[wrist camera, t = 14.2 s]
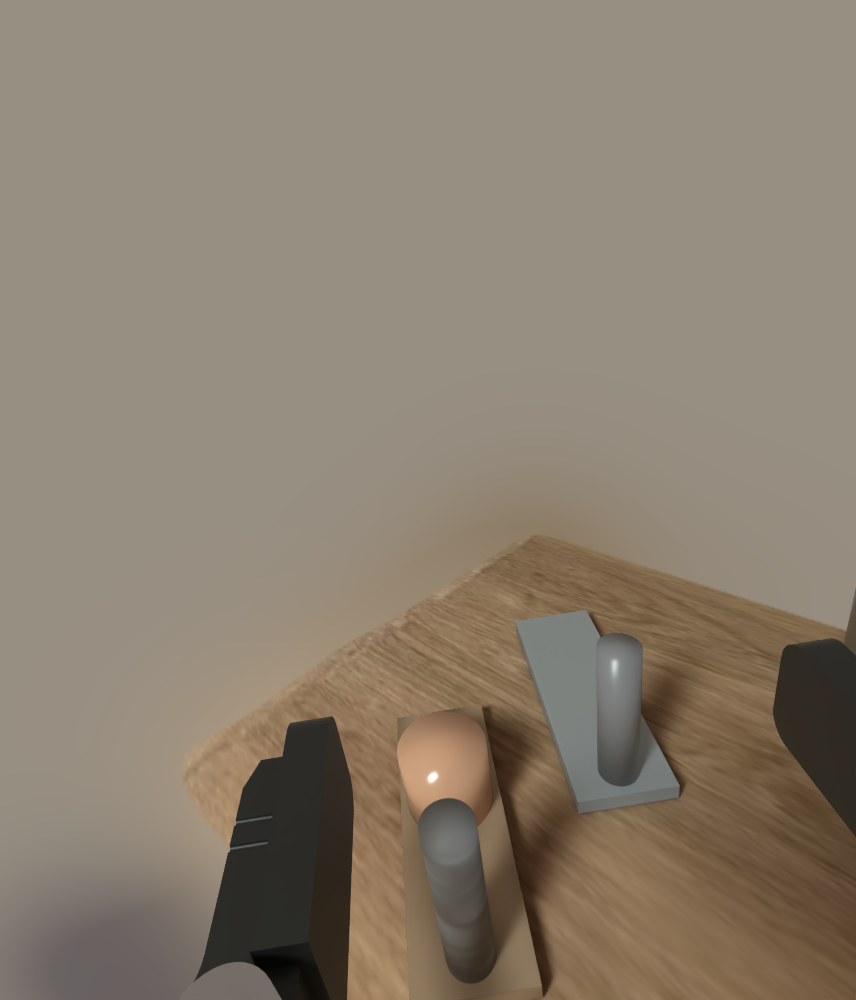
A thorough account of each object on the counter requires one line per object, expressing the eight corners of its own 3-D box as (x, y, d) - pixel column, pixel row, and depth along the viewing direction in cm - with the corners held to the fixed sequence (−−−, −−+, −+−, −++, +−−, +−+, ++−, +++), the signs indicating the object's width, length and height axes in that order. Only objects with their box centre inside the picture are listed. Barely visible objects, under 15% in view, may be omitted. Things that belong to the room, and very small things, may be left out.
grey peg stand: (586, 619, 59) (584, 510, 54) (678, 797, 41) (689, 659, 36) (516, 631, 59) (507, 522, 54) (578, 814, 41) (573, 678, 36)
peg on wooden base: (482, 715, 50) (467, 595, 45) (543, 997, 32) (529, 853, 27) (399, 728, 50) (374, 609, 45) (413, 1019, 32) (373, 878, 27)
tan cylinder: (485, 754, 45) (478, 705, 43) (500, 828, 40) (493, 776, 37) (406, 767, 45) (395, 719, 43) (410, 843, 39) (398, 792, 37)
